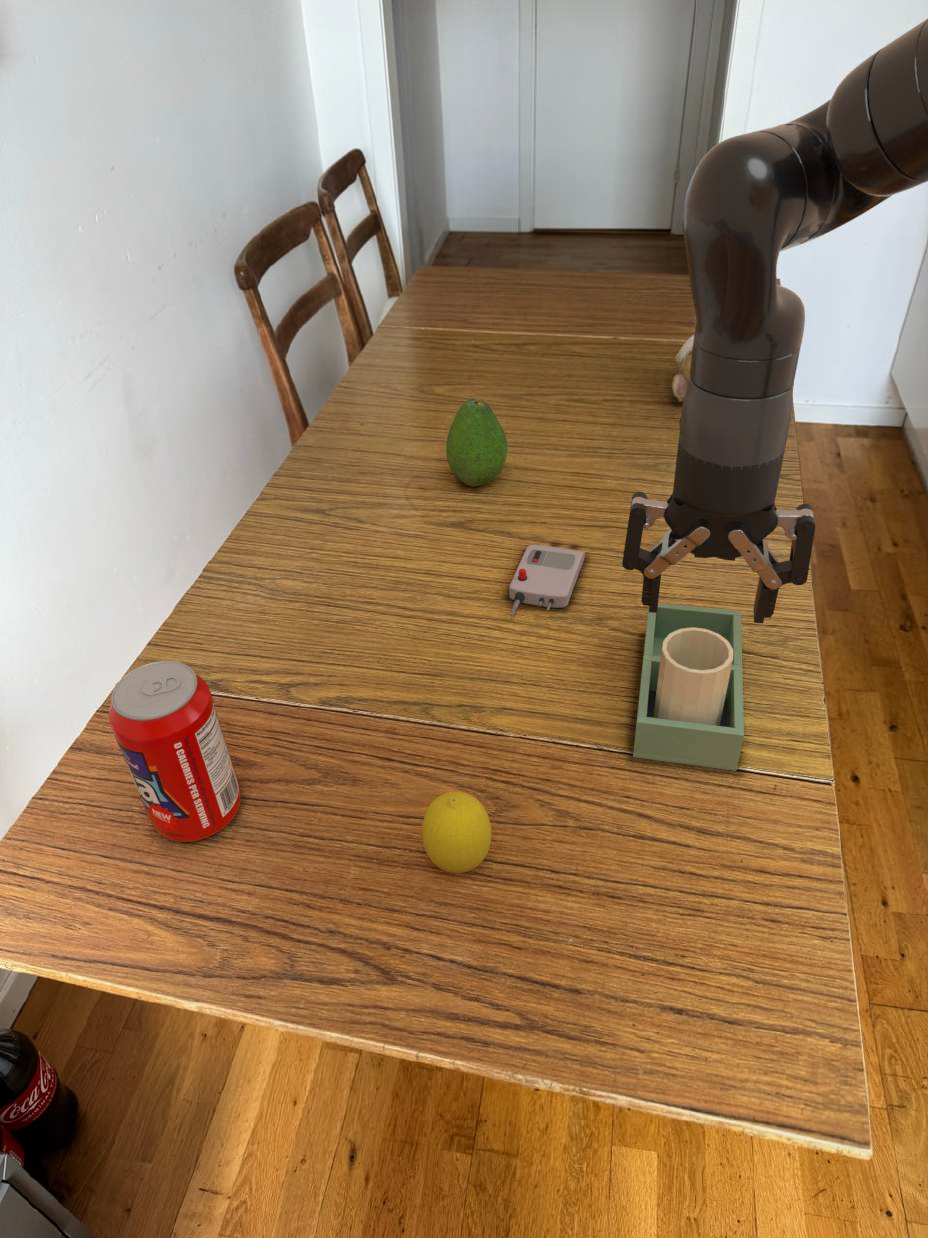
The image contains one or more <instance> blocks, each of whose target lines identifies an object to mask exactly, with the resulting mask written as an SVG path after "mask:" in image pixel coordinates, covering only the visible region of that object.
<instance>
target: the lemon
mask: <svg viewBox="0 0 928 1238" xmlns="http://www.w3.org/2000/svg"><path fill="white" fill-rule="evenodd" d="M492 833H493V832H492V823H491V821H490V817H489V814H488V812H487V810H486V808H485V807H484V805H483V804H482V802H481V801H479V800H478V799H477V798H476V796H474V795H472V794H470V793H467V792H464V791H456V790H454V791H447V792H445V793H442V794H441V795H439V796H437V797H436V798H434V800H433V801H431V803H430V804H429V805H428V807H427V809H426V811H425V812H424V816H423V820H422V823H421V841H422V846H423V848H424V851H425V853H426V855H427V857H428V858H429V860H430V861H431V862H432V864H433V865H435V866H436V867H437V868H439V870H441V871H445V872H447V873H450V874H451V873H452V874H463V873H467V872H470V871H472V870H474V869H475V868H477V867H478V866H479V865H480V864H482V863H483V861H484V860H485V858H486V857H487V856H488V853H489V850H490V847H491V844H492Z"/></svg>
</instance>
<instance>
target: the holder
mask: <svg viewBox="0 0 928 1238" xmlns="http://www.w3.org/2000/svg"><path fill="white" fill-rule="evenodd" d="M647 607H648V608H647V618H646V627H645V636H644V644H643V645H644V646H643V655H642V664H641V674H640V682H639V684H640V685H639V693H638V702H637V712H636V713H637V714H636V724H635V732H634V741H633V742H634V743H633V752H632V758H637V759H644V760H651V761H658V762H667V763H673V764H681V765H687V766H688V765H689V766H696V767H703V768H711V769H718V770H724V771H725V770H726V771H733V772H736V771H737V769H738V764H739V761H740V757H741V756H740V755H741V751H742V748H743V747H742V746H743V742H744V738H745V720H744V719H745V718H744V717H745V715H744V714H745V713H744V677H743V676H744V674H743V673H744V672H743V638H742V635H743V634H742V611H741V610H734V609H724V608H714V607H706V606H705V607H703V606H695V605H685V604H677V603H676V604H674V603H665V602H658V609H657V613H652V612H649V606H647ZM691 627H694V628H702V629H708V630H710V631H713V632H715V633H718V634H720V635H721V636H722V637H724V638H725V639H726V640H727V641H728V642H729V643H730V645H731V647H732V649H733V661H732V666H731V671H730V677H729V682H728V687H727V692H726V697H725V702H724V707H723V712H722V717H721V722H720V726H715V725H707V724H699V723H691V722H683V721H675V720H667V719H659V718H653V715H654V707H655V699H656V692H657V684H658V676H659V668H660V661H661V653H662V645H663V641H664V639H665V638H666V637H667V636H668V635H669V634H670V633H672V632H674V631H676V630H679V629H683V628H691Z"/></svg>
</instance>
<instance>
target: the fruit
mask: <svg viewBox="0 0 928 1238" xmlns="http://www.w3.org/2000/svg"><path fill="white" fill-rule="evenodd" d="M445 443H446V444H445V447H446V448H445V449H446V450H445V455H446V456H445V457H446V459H447V463H448V465H449V468H450V470H451V472H452V474H453V475H454V476H455V478H456V479H458V480H459V481H460V482H461V483H463V484H464V485H465V486H469V487H473V488H475V487H481V486H485V485H488V484H489V483H491V482H493V481H494V480H495V479H496V478H497V477H498V476H499V474H500V473H501V472H502V471H503V469H504V467H505V464H506V461H507V456H508V439H507V436H506V433H505V430H504V428H503V426H502V424H501V423H500V422H499V420H498V417H497V416H496V414H495V411H493V410H492V407H491V406H490V405H489V404H488V403H487V402H485V401H483V400H479V399H476V398H470V399H467V400H466V401H463V402H462V404H461V405H460V407H459V408H458V410H457V411H456V414H455V416H454V418H453V421H452V423H451V426H450V429H449V431H448V434H447V437H446V442H445Z"/></svg>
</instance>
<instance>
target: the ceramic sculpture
mask: <svg viewBox="0 0 928 1238" xmlns="http://www.w3.org/2000/svg"><path fill="white" fill-rule="evenodd" d="M693 341H694V334H693V335H691V336H690V337H688V338H687V340H686V341H685V342H684V343H683V345H682V347H681V348H680V350H679V352H678V353H677V354H676V355H675V366H676V369H677V370H678V372H677V373H676V374H675V375H674V376H673V377H672V378H671V383H670V387H671V388H670V389H671V394H672V396H673V397H672V398H673V399H674V400H676V401H677V402H678V403H683V401H684V397H685V394H686V390H687V386H688V382H689V376H690V367H691V358H692V349H693Z"/></svg>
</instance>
